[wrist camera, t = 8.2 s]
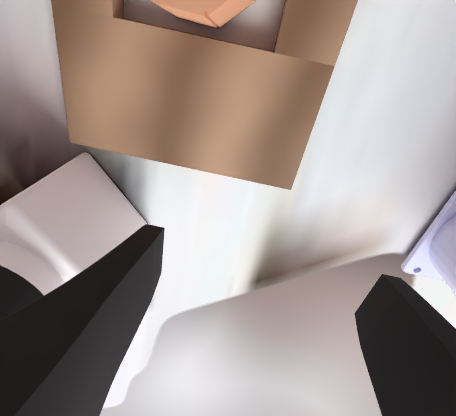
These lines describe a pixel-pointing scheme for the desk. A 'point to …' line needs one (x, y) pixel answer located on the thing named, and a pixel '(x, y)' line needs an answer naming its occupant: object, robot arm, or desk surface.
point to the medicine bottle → (59, 230)
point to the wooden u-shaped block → (198, 88)
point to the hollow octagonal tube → (205, 10)
